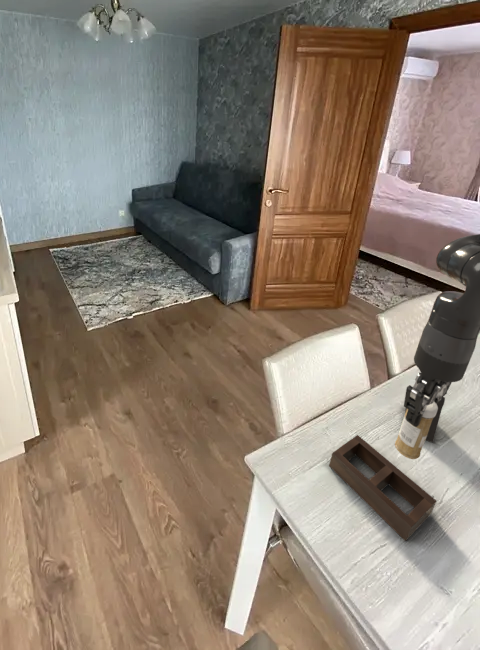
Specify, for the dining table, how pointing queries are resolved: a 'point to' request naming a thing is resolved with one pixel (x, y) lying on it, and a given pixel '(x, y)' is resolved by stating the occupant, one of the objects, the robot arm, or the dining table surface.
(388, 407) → the dining table surface
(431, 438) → the phone stand
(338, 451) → the holder
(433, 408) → the sprinkles bottle
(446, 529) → the dining table surface
